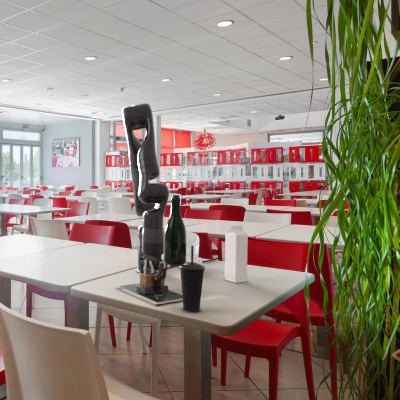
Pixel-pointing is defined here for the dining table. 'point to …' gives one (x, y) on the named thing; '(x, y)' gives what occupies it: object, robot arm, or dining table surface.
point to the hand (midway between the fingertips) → (152, 288)
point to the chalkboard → (156, 295)
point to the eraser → (150, 284)
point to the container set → (196, 260)
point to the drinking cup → (191, 284)
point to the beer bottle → (175, 235)
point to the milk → (236, 255)
